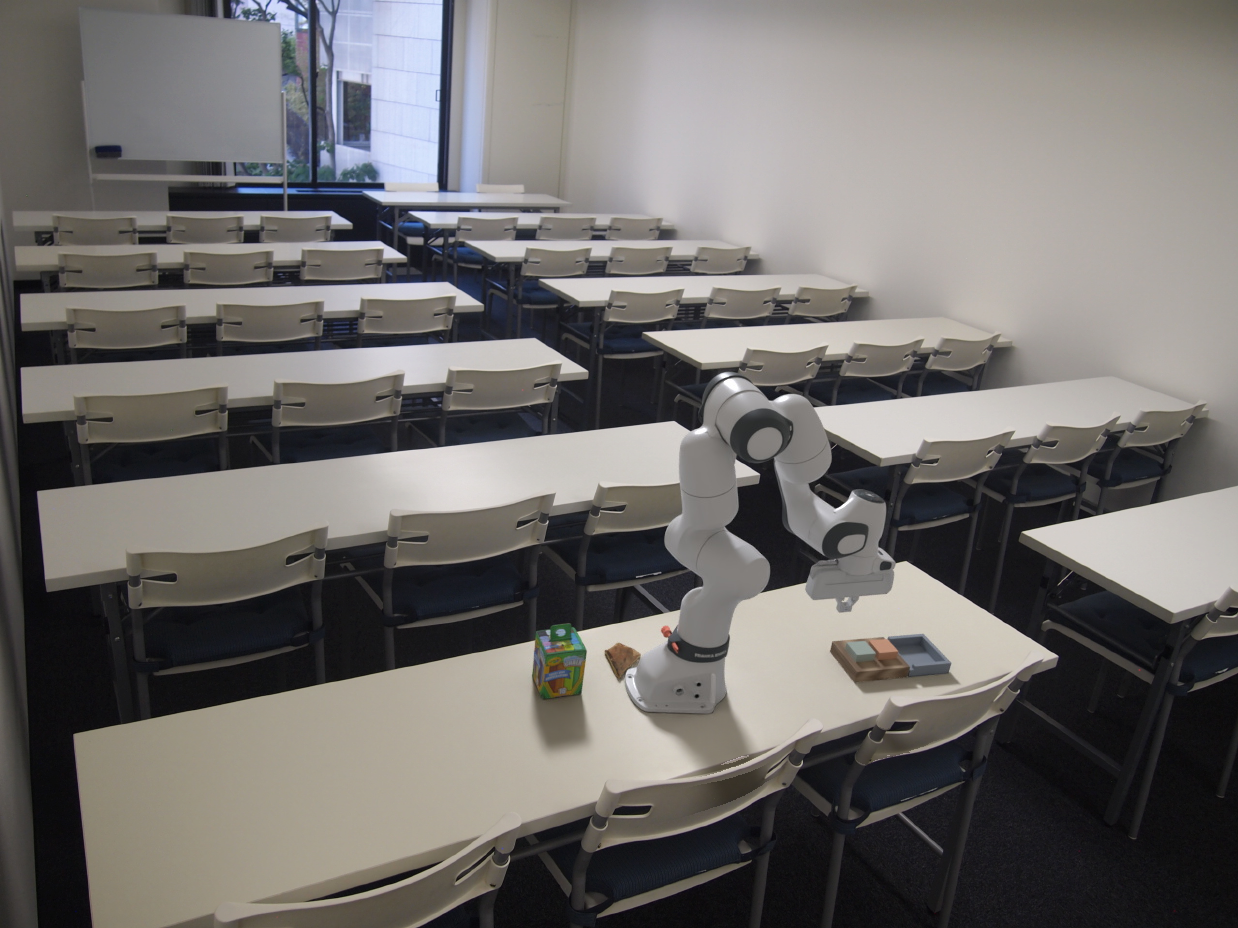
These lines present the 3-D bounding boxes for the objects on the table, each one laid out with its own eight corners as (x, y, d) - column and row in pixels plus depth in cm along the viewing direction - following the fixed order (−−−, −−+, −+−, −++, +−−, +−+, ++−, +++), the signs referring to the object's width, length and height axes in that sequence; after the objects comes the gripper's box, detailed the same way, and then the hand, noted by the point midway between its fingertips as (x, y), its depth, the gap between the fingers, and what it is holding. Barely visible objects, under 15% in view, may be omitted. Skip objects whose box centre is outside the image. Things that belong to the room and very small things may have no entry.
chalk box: (541, 700, 193) (546, 642, 187) (530, 674, 201) (535, 617, 195) (583, 694, 196) (589, 637, 190) (570, 668, 204) (576, 612, 198)
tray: (908, 677, 214) (911, 666, 213) (881, 646, 225) (884, 636, 224) (948, 673, 218) (951, 662, 216) (920, 643, 228) (923, 633, 227)
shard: (618, 681, 202) (618, 675, 202) (589, 668, 206) (589, 662, 205) (641, 658, 211) (642, 652, 210) (613, 646, 214) (614, 639, 214)
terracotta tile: (877, 659, 214) (879, 652, 213) (867, 647, 219) (869, 640, 218) (896, 658, 216) (898, 651, 215) (885, 645, 220) (887, 638, 219)
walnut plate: (854, 682, 210) (857, 671, 209) (829, 651, 221) (832, 641, 220) (907, 677, 214) (910, 666, 213) (880, 647, 225) (883, 636, 224)
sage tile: (855, 662, 213) (857, 654, 212) (844, 649, 217) (846, 642, 216) (874, 660, 214) (876, 653, 213) (863, 647, 218) (865, 640, 218)
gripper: (819, 569, 197) (808, 622, 203) (902, 562, 203) (889, 614, 208) (806, 554, 202) (796, 606, 208) (887, 548, 208) (875, 599, 214)
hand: (843, 610), depth 208 cm, fingers closed
